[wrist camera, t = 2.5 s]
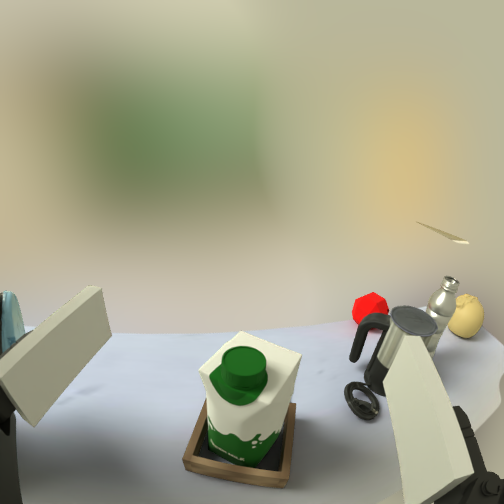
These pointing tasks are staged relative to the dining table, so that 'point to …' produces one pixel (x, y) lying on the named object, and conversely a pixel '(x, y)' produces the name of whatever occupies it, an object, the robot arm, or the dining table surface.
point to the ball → (369, 306)
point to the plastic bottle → (441, 309)
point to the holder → (234, 471)
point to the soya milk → (247, 397)
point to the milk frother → (384, 351)
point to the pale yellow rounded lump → (467, 316)
